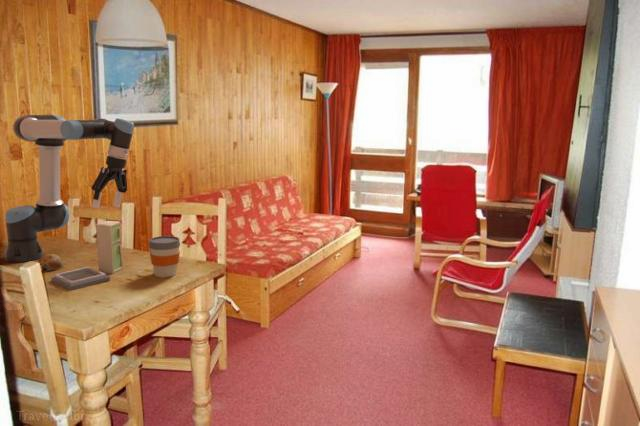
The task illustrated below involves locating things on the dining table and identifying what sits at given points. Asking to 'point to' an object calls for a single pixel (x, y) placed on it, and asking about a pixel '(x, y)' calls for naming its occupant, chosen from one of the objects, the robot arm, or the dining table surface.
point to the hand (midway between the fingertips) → (106, 207)
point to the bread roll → (50, 262)
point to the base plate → (79, 278)
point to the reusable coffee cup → (164, 255)
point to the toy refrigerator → (109, 246)
